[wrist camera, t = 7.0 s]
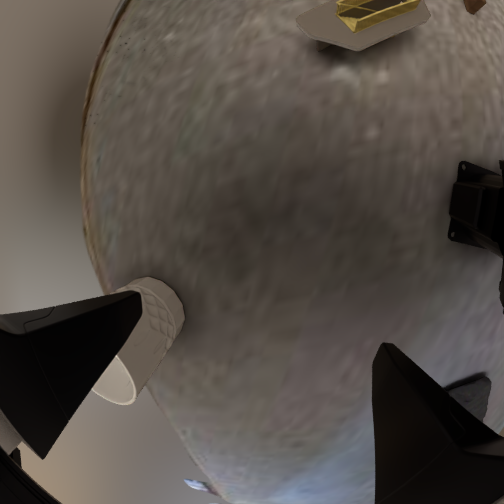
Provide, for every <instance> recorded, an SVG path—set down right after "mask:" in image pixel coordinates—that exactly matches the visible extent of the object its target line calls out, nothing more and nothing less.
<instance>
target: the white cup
mask: <svg viewBox="0 0 504 504" xmlns="http://www.w3.org/2000/svg"><path fill="white" fill-rule="evenodd" d="M128 290H134V291H137V292H139V293H140V294H141V297H142V308H143V313H142V316H141V318H140V320H139V321H138V323H137V325H136V326H135V328H134V329H133V331H132V333H131V334H130V336H129V338H128V339H127V341H126V343H125V344H124V346H123V347H122V348H121V350H120V351H119V352H118V354H117V355H116V356H115V358H114V359H113V360H112V362H111V363H110V364H109V366H108V367H107V368H106V370H105V371H104V372H103V374H102V375H101V377H100V378H99V379H98V381H97V382H96V383H95V385H94V386H93V388H92V389H91V390H92V391H94V392H95V393H96V394H98V395H99V396H101V397H102V398H104V399H106V400H108V401H110V402H113V403H116V404H120V405H129V404H131V403H133V402H134V401H135V399H136V398H137V396H138V395H139V393H140V392H141V390H142V389H143V387H144V386H145V384H146V383H147V381H148V380H149V379H150V377H151V376H152V374H153V373H154V371H155V370H156V368H157V367H158V366H159V364H160V363H161V361H162V359H163V358H164V356H165V354H166V353H167V352H168V350H169V349H170V347H171V345H172V343H173V341H174V340H175V338H176V337H177V336H178V334H179V333H180V331H181V330H182V327H183V324H184V321H185V315H184V310H183V305H182V303H181V301H180V300H179V298H178V296H177V295H176V293H175V292H174V291H173V290H172V289H171V288H170V287H169V286H167V285H166V284H165V283H164V282H162V281H161V280H157V279H154V278H151V277H144V278H139V279H136V280H134V281H132V282H131V283H129V284H127V285H126V286H124V287H122V288H120V289H117V290H115V291H114V292H112V293H111V294H114V293H119V292H123V291H128ZM109 295H110V294H109Z"/></svg>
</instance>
